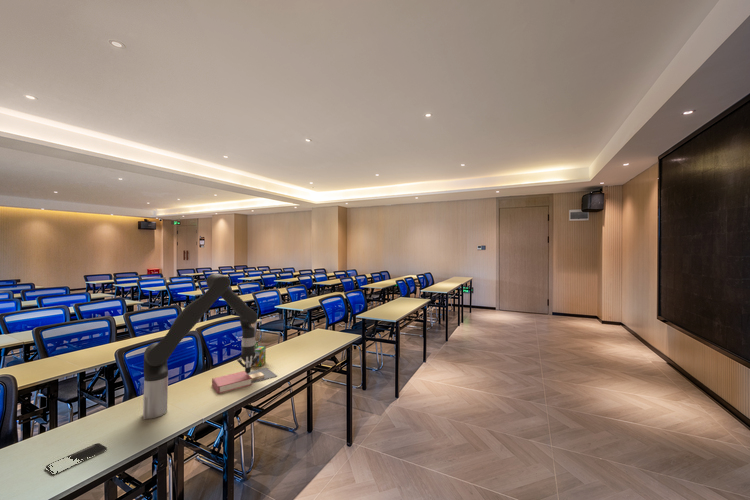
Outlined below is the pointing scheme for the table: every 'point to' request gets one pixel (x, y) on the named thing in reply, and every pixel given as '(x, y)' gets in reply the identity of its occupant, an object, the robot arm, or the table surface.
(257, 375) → the block
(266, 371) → the desk mat
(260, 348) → the chalk box
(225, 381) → the book deck
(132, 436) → the table surface
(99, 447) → the phone
